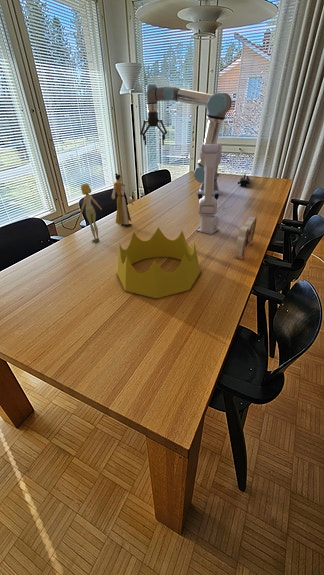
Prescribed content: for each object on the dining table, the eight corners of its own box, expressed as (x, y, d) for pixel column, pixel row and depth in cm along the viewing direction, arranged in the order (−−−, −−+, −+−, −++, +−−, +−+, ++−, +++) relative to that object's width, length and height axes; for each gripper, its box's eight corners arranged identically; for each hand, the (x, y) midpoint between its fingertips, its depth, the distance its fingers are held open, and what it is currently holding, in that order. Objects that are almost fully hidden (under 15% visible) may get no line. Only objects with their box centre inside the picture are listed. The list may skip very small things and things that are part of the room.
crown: (123, 254, 130) (119, 225, 122) (197, 252, 128) (198, 223, 120) (109, 299, 101) (102, 265, 92) (204, 297, 99) (206, 262, 90)
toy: (240, 179, 245) (237, 186, 221) (241, 173, 242) (238, 180, 219) (251, 179, 242) (249, 186, 218) (251, 174, 240) (249, 180, 216)
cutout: (244, 233, 111) (258, 210, 128) (237, 232, 113) (252, 210, 129) (240, 263, 121) (254, 238, 137) (234, 262, 122) (248, 237, 138)
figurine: (140, 227, 158) (135, 173, 141) (129, 231, 153) (122, 176, 136) (119, 219, 169) (112, 169, 152) (109, 224, 164) (100, 172, 147)
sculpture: (103, 236, 150) (93, 180, 132) (108, 238, 147) (98, 181, 130) (83, 243, 142) (70, 186, 125) (88, 246, 140) (75, 187, 122)
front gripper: (221, 182, 157) (219, 204, 165) (196, 182, 159) (196, 204, 167) (221, 185, 151) (219, 208, 159) (196, 185, 153) (195, 208, 161)
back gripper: (134, 112, 188) (137, 146, 200) (169, 110, 184) (169, 145, 196) (136, 112, 194) (139, 144, 206) (170, 110, 190) (171, 143, 202)
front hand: (207, 206), depth 163 cm, fingers open, 7 cm apart
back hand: (154, 145), depth 201 cm, fingers open, 13 cm apart
